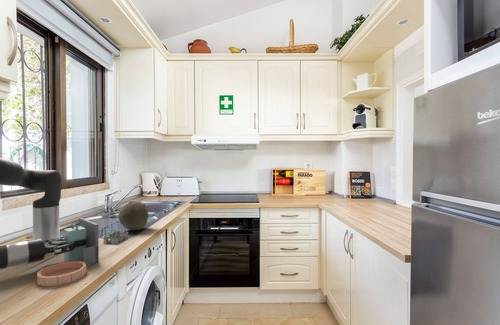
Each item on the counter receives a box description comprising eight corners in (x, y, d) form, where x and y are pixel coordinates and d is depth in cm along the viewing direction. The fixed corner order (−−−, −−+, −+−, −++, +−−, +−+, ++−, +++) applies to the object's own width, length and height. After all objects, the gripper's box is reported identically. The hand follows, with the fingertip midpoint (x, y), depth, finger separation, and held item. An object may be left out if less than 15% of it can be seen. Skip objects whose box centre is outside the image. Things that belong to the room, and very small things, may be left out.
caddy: (68, 264, 93) (68, 227, 93) (64, 261, 96) (64, 224, 96) (85, 260, 97) (85, 224, 97) (80, 256, 100) (80, 222, 100)
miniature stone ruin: (114, 245, 115) (114, 235, 115) (100, 244, 117) (99, 235, 116) (129, 237, 126) (129, 229, 126) (116, 237, 127) (116, 228, 127)
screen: (83, 266, 91) (83, 227, 91) (67, 255, 102) (67, 220, 102) (98, 262, 95) (98, 224, 95) (82, 251, 106) (81, 217, 106)
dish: (51, 269, 88) (51, 262, 88) (92, 267, 90) (92, 260, 90) (27, 287, 76) (27, 279, 76) (74, 283, 78) (74, 275, 78)
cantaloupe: (137, 226, 147) (137, 200, 147) (153, 229, 140) (153, 202, 140) (113, 231, 135) (113, 203, 135) (129, 236, 128) (129, 205, 128)
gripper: (29, 245, 81) (89, 233, 94) (20, 237, 90) (76, 227, 103) (29, 269, 81) (89, 254, 94) (20, 258, 90) (76, 246, 103)
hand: (82, 240), depth 98 cm, fingers open, 5 cm apart
